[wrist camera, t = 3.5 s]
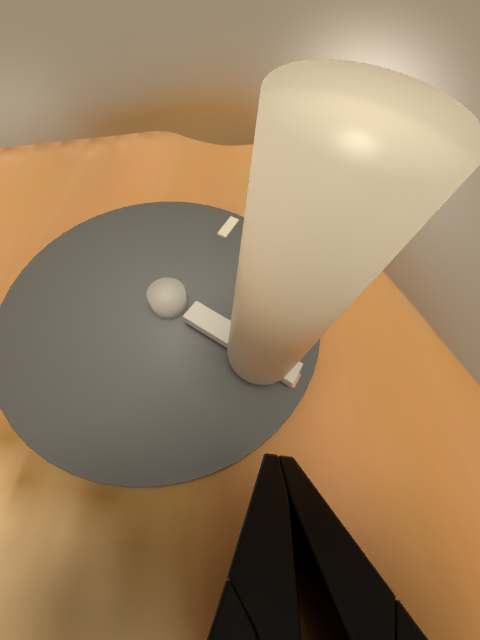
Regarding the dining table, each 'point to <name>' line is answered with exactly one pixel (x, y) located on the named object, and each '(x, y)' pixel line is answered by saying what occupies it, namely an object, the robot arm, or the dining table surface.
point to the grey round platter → (134, 350)
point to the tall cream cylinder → (332, 202)
